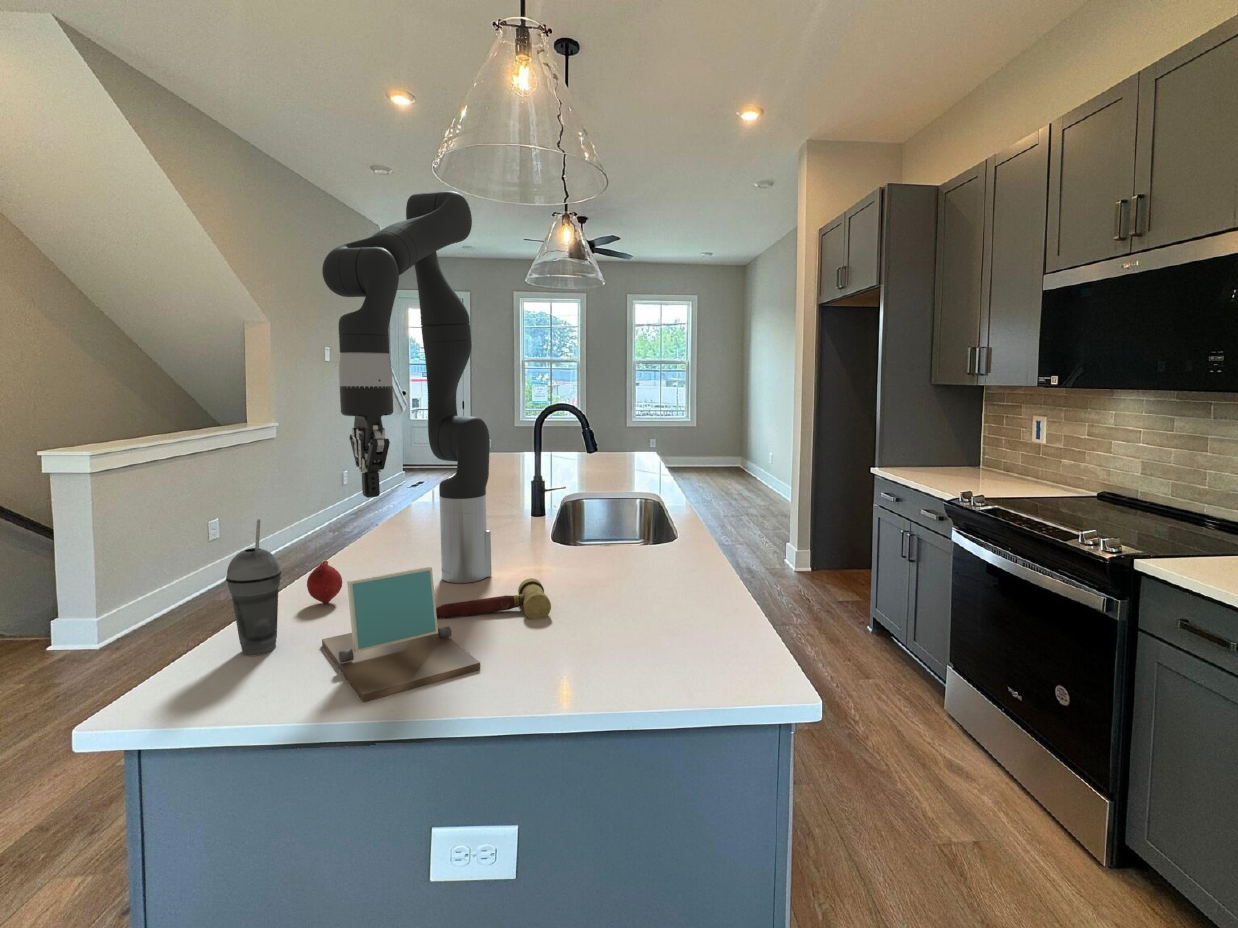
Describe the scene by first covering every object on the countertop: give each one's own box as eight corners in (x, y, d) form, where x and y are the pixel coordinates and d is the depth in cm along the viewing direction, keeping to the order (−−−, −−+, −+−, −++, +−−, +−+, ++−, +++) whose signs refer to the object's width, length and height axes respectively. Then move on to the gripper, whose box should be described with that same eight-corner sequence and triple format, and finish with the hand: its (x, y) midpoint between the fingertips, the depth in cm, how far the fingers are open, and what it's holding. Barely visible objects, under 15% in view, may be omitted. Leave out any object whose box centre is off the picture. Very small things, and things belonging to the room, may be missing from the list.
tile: (429, 566, 100) (432, 567, 99) (435, 631, 100) (438, 633, 99) (347, 580, 93) (349, 581, 92) (353, 650, 93) (356, 652, 92)
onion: (329, 609, 116) (327, 566, 115) (301, 607, 117) (298, 564, 116) (349, 599, 121) (347, 557, 120) (321, 596, 122) (319, 555, 121)
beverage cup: (245, 640, 102) (236, 514, 99) (294, 639, 102) (286, 514, 100) (221, 660, 95) (211, 525, 92) (273, 658, 95) (264, 524, 93)
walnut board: (424, 622, 110) (423, 606, 109) (480, 669, 92) (480, 650, 92) (322, 645, 100) (321, 627, 100) (363, 701, 83) (362, 680, 82)
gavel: (423, 611, 107) (424, 592, 116) (426, 638, 107) (427, 617, 117) (550, 593, 112) (541, 576, 121) (552, 618, 112) (543, 599, 122)
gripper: (405, 384, 96) (409, 500, 98) (378, 383, 107) (382, 488, 109) (352, 384, 92) (358, 505, 94) (329, 383, 102) (334, 492, 104)
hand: (371, 496), depth 101 cm, fingers closed
